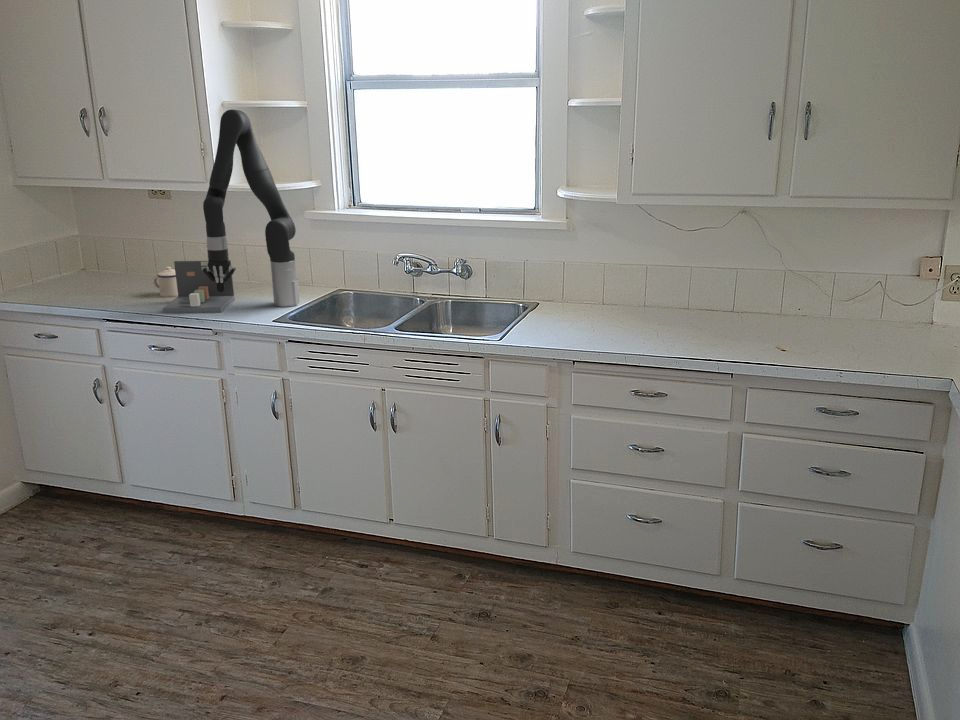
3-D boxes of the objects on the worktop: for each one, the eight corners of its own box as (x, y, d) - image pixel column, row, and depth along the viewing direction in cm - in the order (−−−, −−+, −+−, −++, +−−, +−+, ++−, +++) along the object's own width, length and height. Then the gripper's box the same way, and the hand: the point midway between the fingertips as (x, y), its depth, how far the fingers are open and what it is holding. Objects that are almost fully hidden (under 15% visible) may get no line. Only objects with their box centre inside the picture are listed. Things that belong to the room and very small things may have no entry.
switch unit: (234, 300, 346) (230, 260, 341) (221, 312, 328) (216, 270, 323) (179, 300, 346) (174, 260, 341) (163, 313, 328) (157, 271, 323)
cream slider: (200, 304, 330) (199, 293, 328) (198, 306, 327) (197, 294, 326) (192, 304, 330) (191, 293, 328) (190, 306, 327) (189, 294, 326)
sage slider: (204, 301, 335) (203, 289, 333) (202, 302, 332) (201, 291, 331) (197, 301, 335) (195, 289, 333) (195, 302, 332) (193, 291, 331)
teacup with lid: (187, 292, 358) (184, 265, 355) (174, 298, 350) (171, 269, 346) (162, 291, 361) (158, 263, 358) (148, 296, 353) (145, 268, 350)
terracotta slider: (209, 297, 340) (207, 286, 339) (207, 299, 338) (205, 287, 336) (201, 297, 340) (200, 286, 339) (199, 299, 338) (198, 288, 336)
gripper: (237, 245, 336) (241, 289, 342) (203, 245, 337) (207, 289, 342) (231, 249, 329) (235, 294, 335) (197, 249, 329) (201, 293, 335)
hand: (221, 291), depth 338 cm, fingers closed
